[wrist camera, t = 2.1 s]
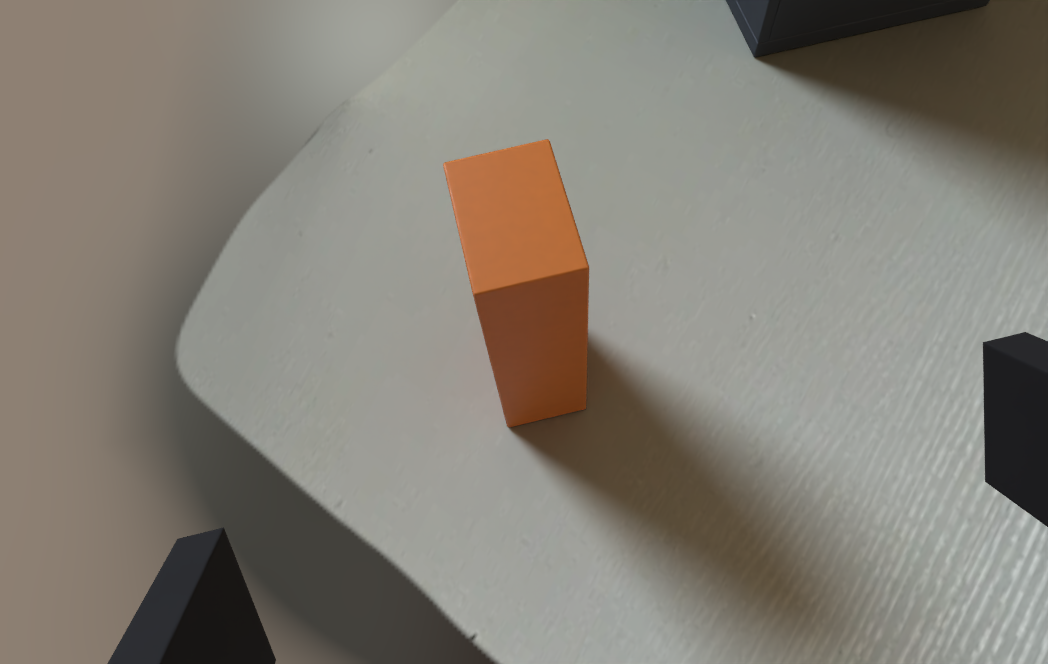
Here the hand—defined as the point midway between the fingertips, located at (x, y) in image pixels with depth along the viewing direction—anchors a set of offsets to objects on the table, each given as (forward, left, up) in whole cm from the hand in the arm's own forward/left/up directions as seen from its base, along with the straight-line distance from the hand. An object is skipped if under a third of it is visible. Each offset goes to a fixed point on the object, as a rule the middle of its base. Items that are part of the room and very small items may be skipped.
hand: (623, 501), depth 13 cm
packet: (-2, +11, -18) cm, 21 cm away
